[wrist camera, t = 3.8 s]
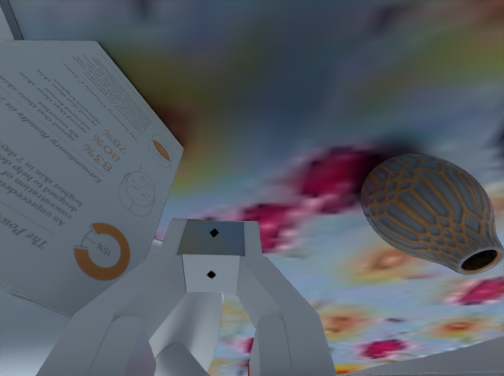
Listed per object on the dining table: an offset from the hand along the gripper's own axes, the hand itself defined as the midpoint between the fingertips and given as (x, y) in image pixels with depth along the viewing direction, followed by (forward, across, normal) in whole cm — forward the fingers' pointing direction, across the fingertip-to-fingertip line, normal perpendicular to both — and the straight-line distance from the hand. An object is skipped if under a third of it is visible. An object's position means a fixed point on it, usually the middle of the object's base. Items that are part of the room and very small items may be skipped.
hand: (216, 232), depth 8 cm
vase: (+10, -14, +3) cm, 18 cm away
